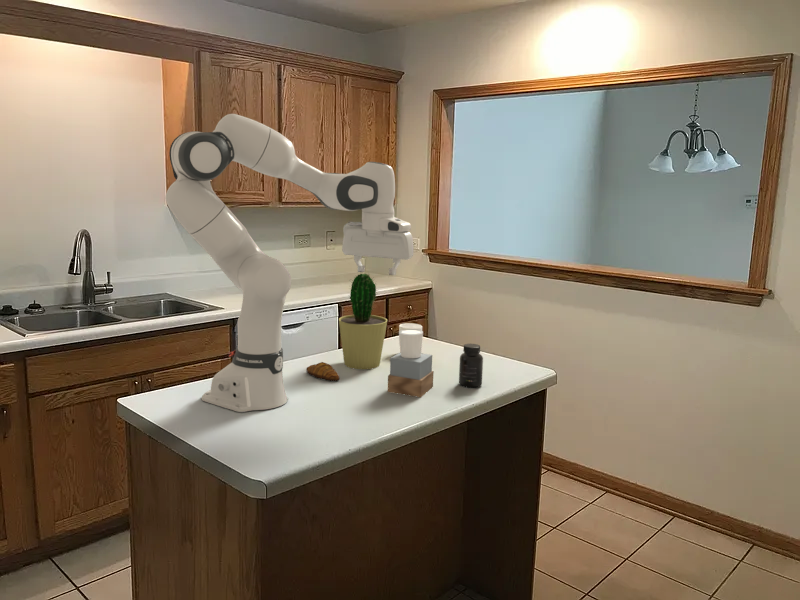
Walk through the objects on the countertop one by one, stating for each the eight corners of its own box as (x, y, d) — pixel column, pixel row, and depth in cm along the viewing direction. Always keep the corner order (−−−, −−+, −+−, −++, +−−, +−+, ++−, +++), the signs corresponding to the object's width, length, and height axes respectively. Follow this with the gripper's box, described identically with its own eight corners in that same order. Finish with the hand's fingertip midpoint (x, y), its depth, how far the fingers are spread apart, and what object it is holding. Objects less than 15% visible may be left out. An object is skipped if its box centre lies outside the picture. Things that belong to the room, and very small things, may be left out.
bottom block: (387, 392, 183) (388, 375, 182) (400, 382, 193) (401, 366, 192) (420, 398, 180) (421, 380, 179) (432, 387, 189) (433, 371, 188)
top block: (390, 375, 183) (390, 357, 182) (403, 367, 191) (403, 350, 190) (419, 380, 179) (420, 362, 178) (431, 371, 187) (432, 354, 186)
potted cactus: (372, 374, 199) (374, 277, 194) (328, 366, 206) (330, 272, 200) (394, 362, 213) (397, 271, 207) (353, 355, 219) (355, 267, 214)
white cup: (413, 358, 218) (414, 329, 216) (393, 354, 222) (394, 326, 220) (425, 353, 224) (426, 325, 223) (406, 350, 229) (407, 322, 227)
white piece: (419, 359, 180) (419, 335, 179) (395, 358, 182) (395, 333, 181) (426, 353, 187) (426, 329, 185) (403, 351, 189) (403, 328, 187)
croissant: (298, 375, 197) (298, 359, 196) (315, 370, 202) (316, 355, 201) (328, 385, 188) (329, 368, 187) (346, 380, 193) (346, 364, 192)
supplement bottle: (459, 380, 196) (461, 341, 194) (482, 382, 195) (484, 343, 193) (457, 387, 190) (459, 347, 187) (480, 389, 188) (483, 349, 186)
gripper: (338, 221, 179) (337, 271, 181) (408, 225, 171) (406, 278, 174) (348, 220, 184) (347, 269, 187) (416, 224, 177) (414, 275, 179)
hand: (376, 273), depth 180 cm, fingers open, 8 cm apart
